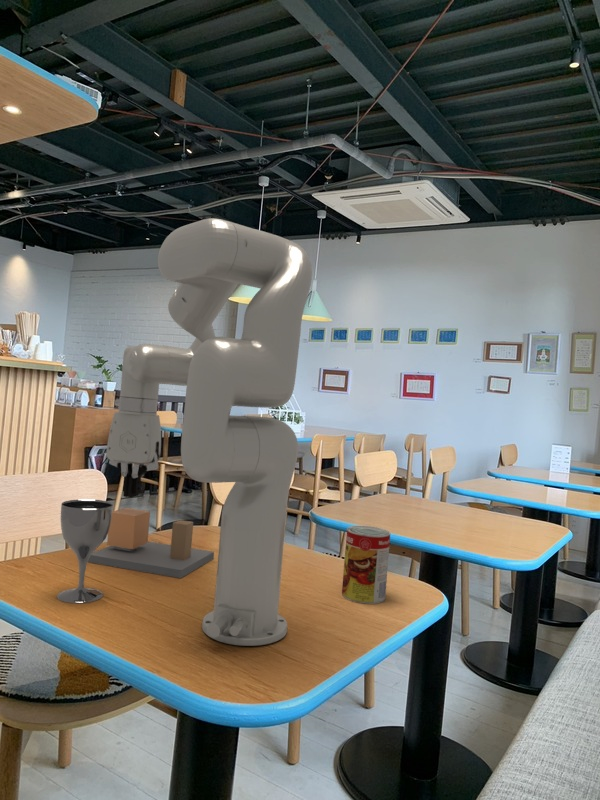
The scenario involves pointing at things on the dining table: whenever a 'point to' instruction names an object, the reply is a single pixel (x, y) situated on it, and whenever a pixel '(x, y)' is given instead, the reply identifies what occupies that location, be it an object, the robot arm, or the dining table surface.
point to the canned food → (366, 564)
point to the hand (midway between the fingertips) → (130, 496)
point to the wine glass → (84, 540)
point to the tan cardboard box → (129, 528)
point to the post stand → (158, 555)
